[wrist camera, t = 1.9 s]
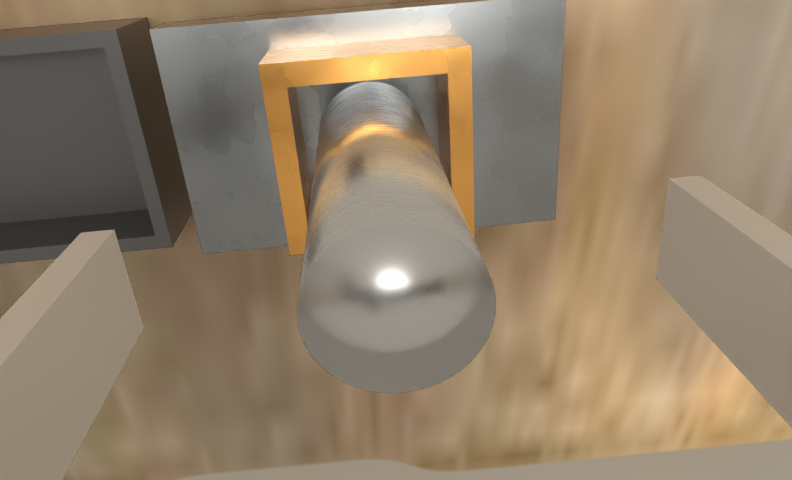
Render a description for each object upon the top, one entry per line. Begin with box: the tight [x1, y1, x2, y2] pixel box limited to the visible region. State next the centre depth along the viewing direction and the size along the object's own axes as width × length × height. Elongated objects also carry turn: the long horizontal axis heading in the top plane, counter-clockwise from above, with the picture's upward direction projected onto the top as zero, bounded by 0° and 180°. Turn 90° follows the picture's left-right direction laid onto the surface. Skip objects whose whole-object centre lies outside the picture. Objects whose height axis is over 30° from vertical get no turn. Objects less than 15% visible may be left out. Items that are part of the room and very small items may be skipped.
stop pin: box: [297, 82, 496, 393], centre depth 18 cm, size 4×4×13 cm
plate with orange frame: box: [149, 0, 566, 255], centre depth 25 cm, size 15×9×8 cm, turn 94°
